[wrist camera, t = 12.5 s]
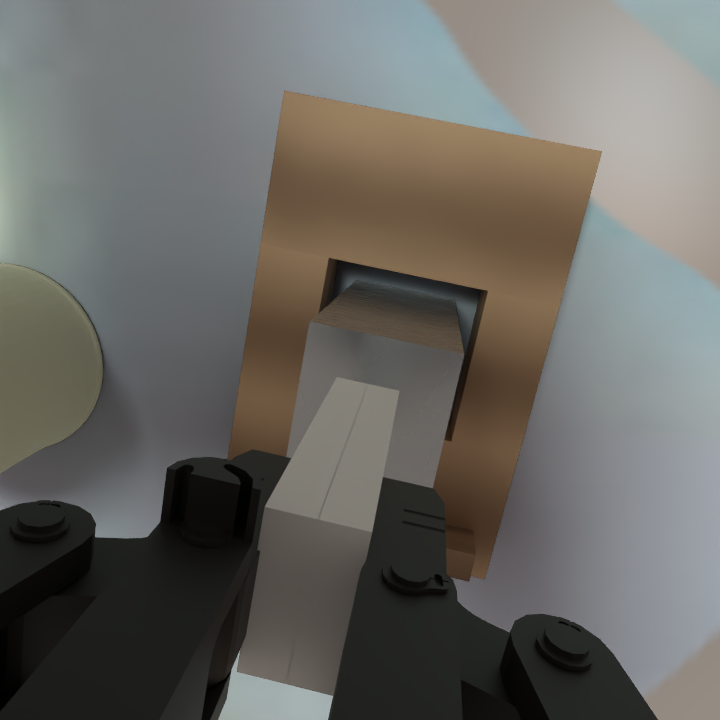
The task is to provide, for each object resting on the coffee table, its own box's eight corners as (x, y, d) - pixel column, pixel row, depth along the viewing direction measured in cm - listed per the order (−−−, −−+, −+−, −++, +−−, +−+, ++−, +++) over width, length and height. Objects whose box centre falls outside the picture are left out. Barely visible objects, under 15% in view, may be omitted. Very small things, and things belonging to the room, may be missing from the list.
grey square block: (356, 279, 29) (309, 321, 18) (454, 299, 28) (464, 354, 18) (339, 373, 30) (284, 464, 19) (432, 393, 30) (430, 497, 19)
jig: (300, 103, 27) (271, 80, 23) (584, 157, 27) (616, 146, 22) (238, 487, 32) (202, 537, 27) (480, 544, 31) (488, 606, 26)
